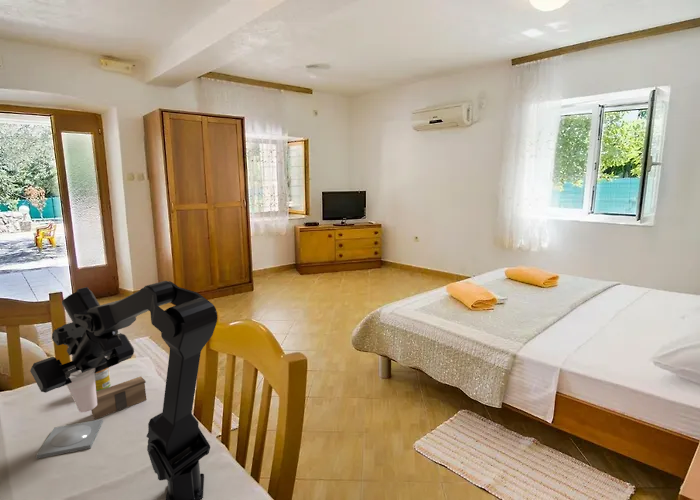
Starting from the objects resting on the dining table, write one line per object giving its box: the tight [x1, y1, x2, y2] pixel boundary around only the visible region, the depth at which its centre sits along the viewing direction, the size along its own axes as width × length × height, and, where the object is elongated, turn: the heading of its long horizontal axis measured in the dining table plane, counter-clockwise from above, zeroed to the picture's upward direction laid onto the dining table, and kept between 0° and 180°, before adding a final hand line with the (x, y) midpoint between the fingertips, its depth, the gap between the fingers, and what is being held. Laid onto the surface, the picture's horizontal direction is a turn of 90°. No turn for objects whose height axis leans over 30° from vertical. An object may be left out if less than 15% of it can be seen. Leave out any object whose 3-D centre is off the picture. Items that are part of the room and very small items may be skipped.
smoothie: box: [66, 355, 97, 413], centre depth 91 cm, size 6×6×14 cm
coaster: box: [36, 418, 104, 459], centre depth 91 cm, size 10×10×1 cm
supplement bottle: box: [94, 367, 112, 391], centre depth 112 cm, size 5×5×10 cm
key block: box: [90, 375, 147, 420], centre depth 103 cm, size 3×12×6 cm, turn 135°
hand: (76, 378), depth 91 cm, fingers closed on smoothie, 6 cm apart
